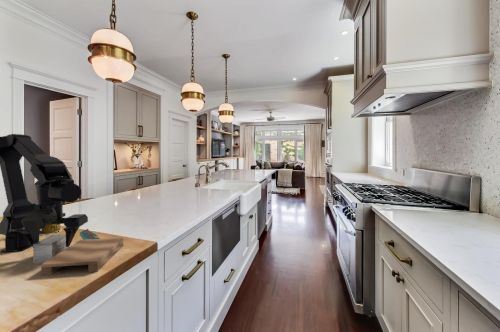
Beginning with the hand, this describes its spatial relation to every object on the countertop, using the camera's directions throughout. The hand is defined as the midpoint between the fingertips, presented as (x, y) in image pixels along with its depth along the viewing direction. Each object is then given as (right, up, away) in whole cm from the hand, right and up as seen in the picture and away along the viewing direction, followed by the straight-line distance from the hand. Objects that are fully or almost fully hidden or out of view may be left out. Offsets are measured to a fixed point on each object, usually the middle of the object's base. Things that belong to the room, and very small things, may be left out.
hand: (52, 247), depth 71 cm
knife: (-1, -3, +18) cm, 18 cm away
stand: (+12, -3, -1) cm, 13 cm away
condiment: (-22, -2, +23) cm, 32 cm away
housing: (0, -3, 0) cm, 3 cm away
